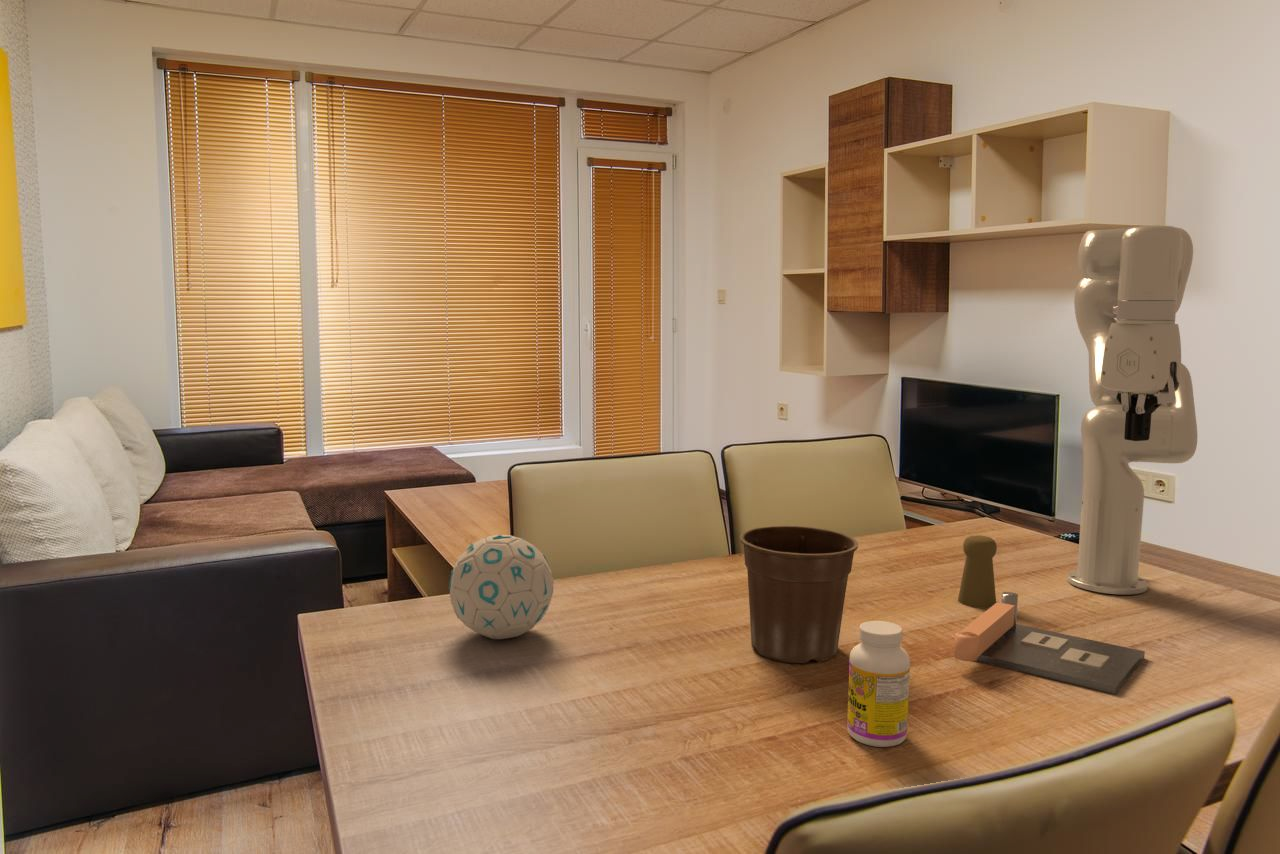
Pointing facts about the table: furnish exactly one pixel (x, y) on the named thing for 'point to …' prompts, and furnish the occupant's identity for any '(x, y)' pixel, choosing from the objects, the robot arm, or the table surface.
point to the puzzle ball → (501, 586)
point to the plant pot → (797, 590)
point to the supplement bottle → (878, 686)
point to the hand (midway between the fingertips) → (1136, 439)
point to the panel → (1062, 656)
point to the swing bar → (983, 631)
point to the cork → (978, 572)
